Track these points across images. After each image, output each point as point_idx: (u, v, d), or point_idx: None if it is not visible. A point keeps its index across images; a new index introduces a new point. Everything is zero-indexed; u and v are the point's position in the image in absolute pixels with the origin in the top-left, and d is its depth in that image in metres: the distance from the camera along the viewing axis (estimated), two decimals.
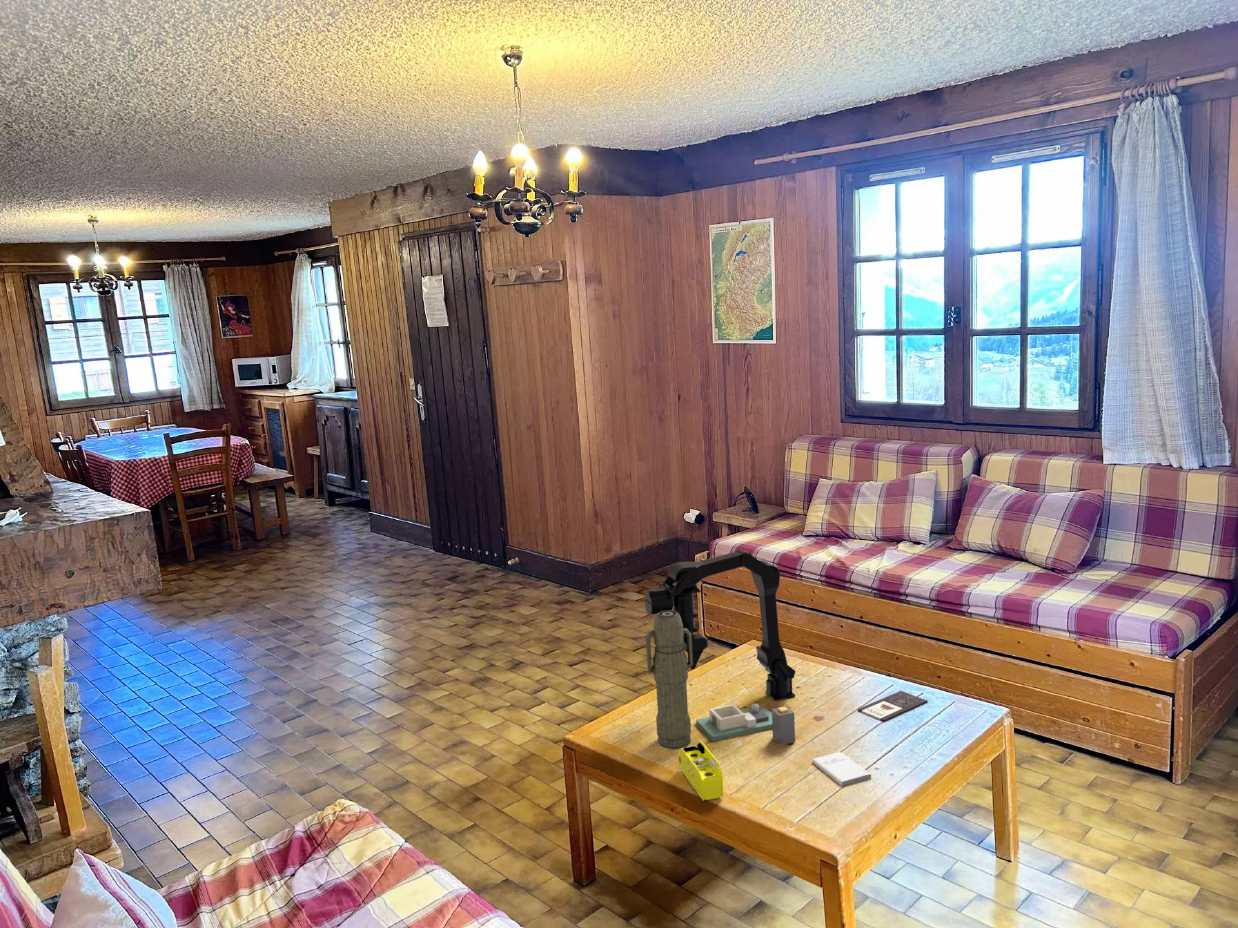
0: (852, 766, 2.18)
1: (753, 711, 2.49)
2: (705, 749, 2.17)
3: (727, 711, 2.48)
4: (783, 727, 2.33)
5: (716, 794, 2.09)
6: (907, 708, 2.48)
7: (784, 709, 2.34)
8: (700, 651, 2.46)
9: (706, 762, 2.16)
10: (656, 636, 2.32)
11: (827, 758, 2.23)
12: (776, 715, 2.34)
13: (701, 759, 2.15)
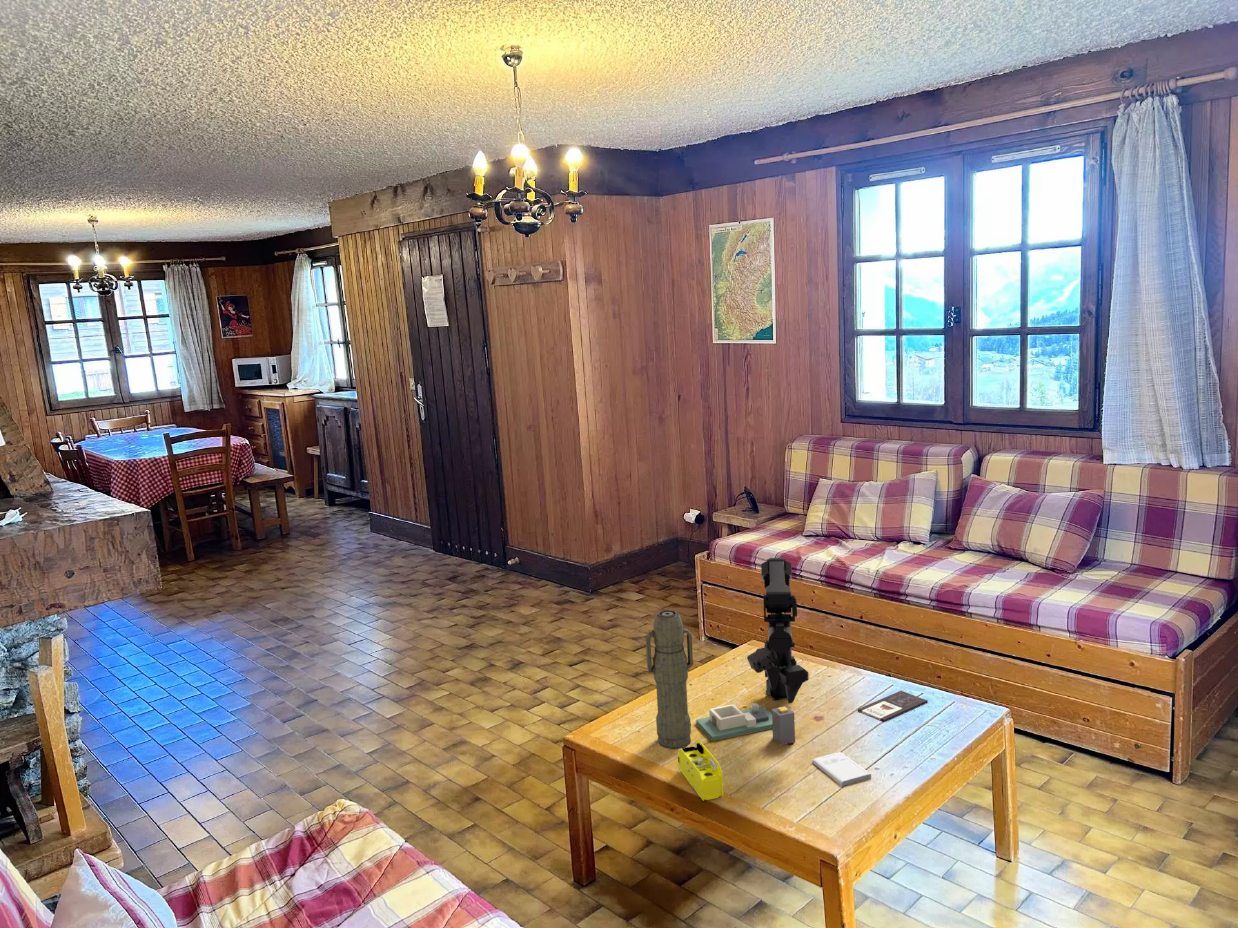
0: (853, 766, 2.18)
1: (753, 711, 2.49)
2: (704, 749, 2.17)
3: (727, 711, 2.48)
4: (783, 727, 2.33)
5: (716, 794, 2.09)
6: (907, 708, 2.48)
7: (784, 709, 2.34)
8: (799, 684, 2.28)
9: (705, 762, 2.17)
10: (656, 636, 2.32)
11: (827, 758, 2.23)
12: (776, 715, 2.34)
13: (700, 759, 2.15)
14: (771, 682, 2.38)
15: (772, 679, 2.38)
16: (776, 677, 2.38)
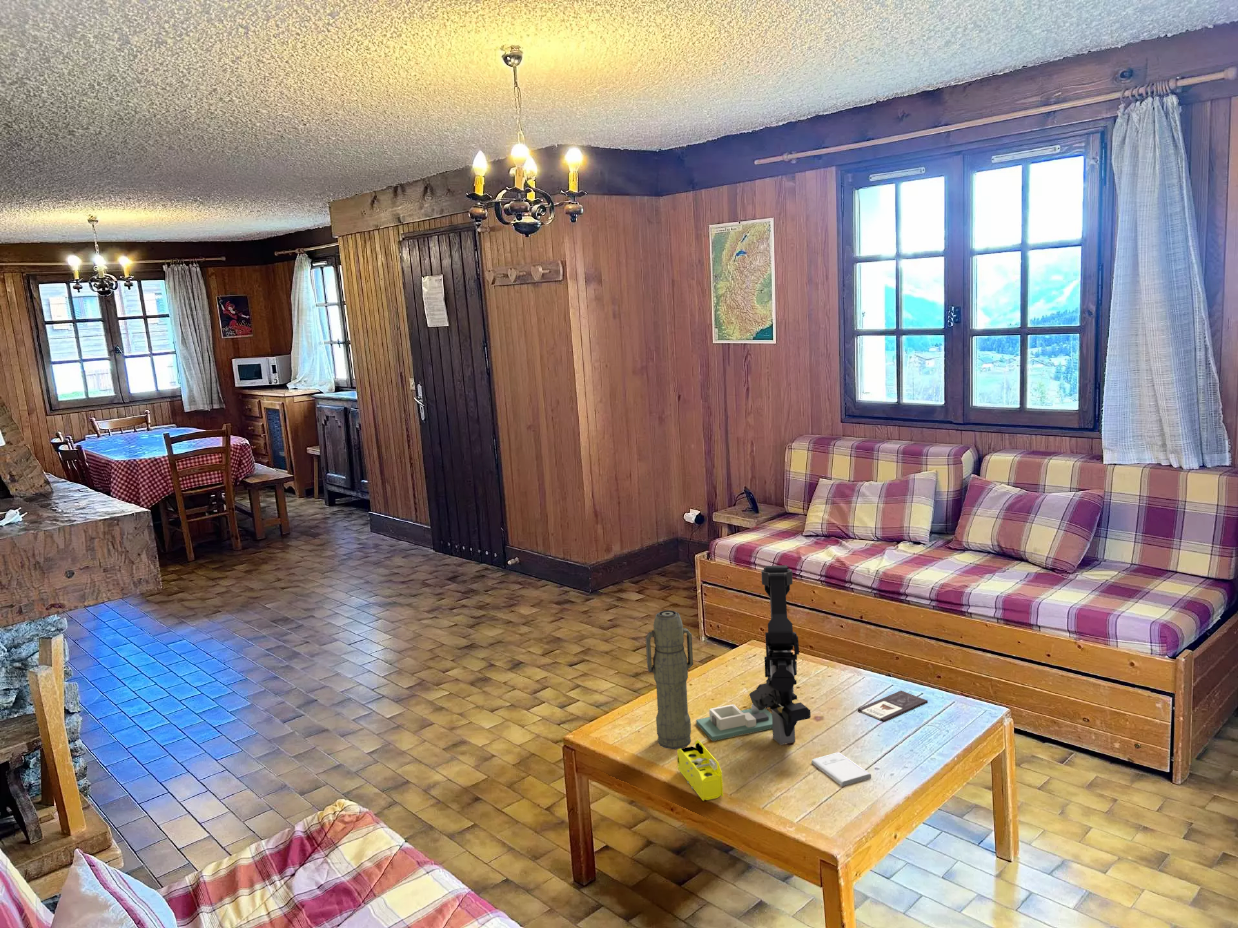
0: (852, 766, 2.18)
1: (753, 711, 2.49)
2: (704, 749, 2.17)
3: (727, 711, 2.48)
4: (783, 727, 2.33)
5: (716, 794, 2.09)
6: (907, 708, 2.48)
7: None
8: None
9: (705, 762, 2.17)
10: (656, 636, 2.32)
11: (826, 758, 2.23)
12: (776, 715, 2.34)
13: (700, 759, 2.15)
14: None
15: None
16: None
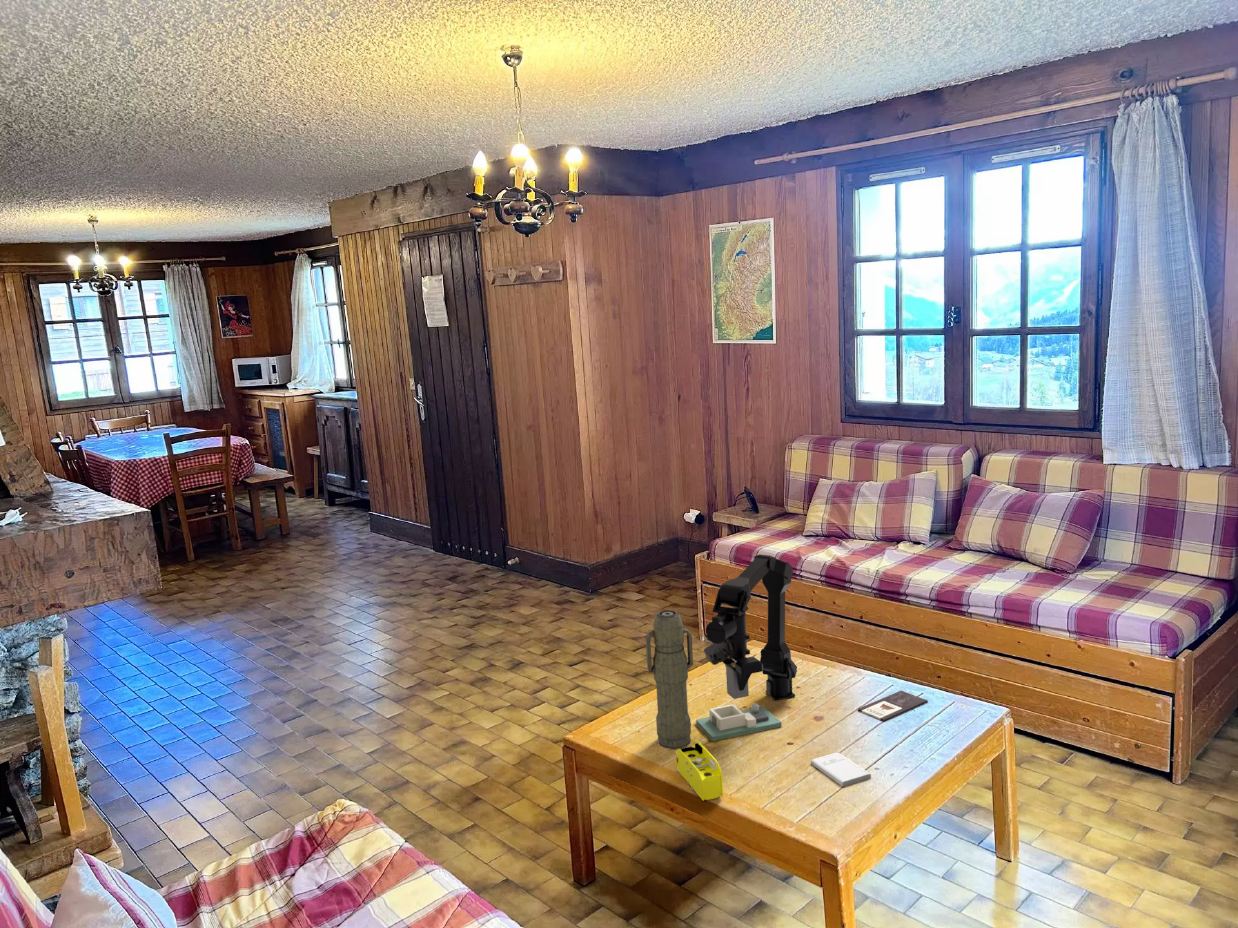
0: (852, 766, 2.18)
1: (753, 711, 2.49)
2: (703, 749, 2.17)
3: (727, 711, 2.48)
4: (736, 681, 2.38)
5: (716, 794, 2.09)
6: (907, 708, 2.48)
7: None
8: None
9: (704, 762, 2.17)
10: (656, 636, 2.32)
11: (825, 758, 2.23)
12: (730, 670, 2.39)
13: (700, 759, 2.15)
14: None
15: None
16: None
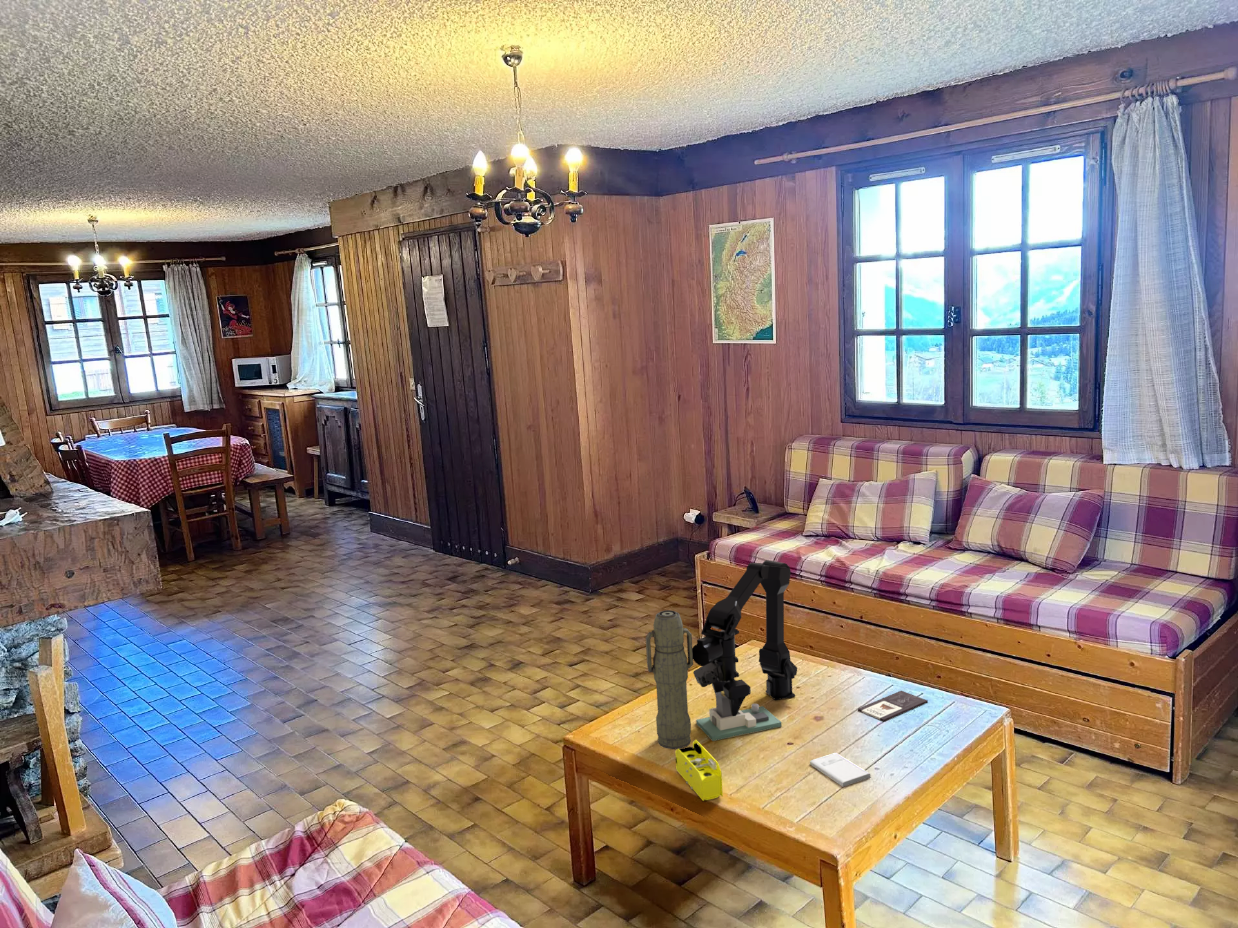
0: (851, 766, 2.18)
1: (753, 711, 2.49)
2: (702, 749, 2.17)
3: None
4: (725, 709, 2.42)
5: (715, 794, 2.09)
6: (907, 708, 2.48)
7: None
8: (742, 698, 2.38)
9: (703, 762, 2.17)
10: (656, 636, 2.32)
11: (824, 759, 2.23)
12: (719, 698, 2.43)
13: (699, 759, 2.15)
14: None
15: None
16: (722, 690, 2.49)
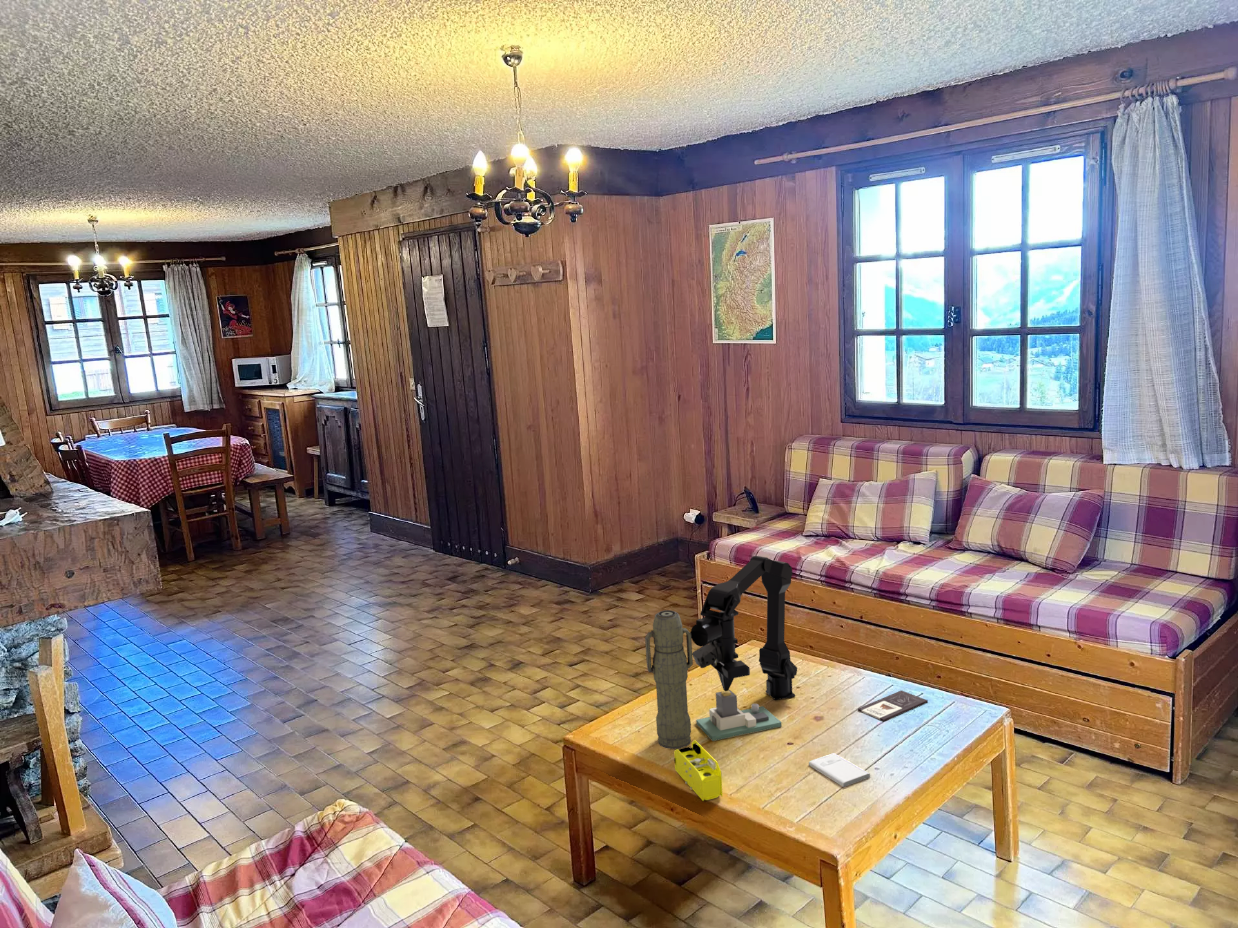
0: (850, 767, 2.18)
1: (753, 711, 2.49)
2: (702, 749, 2.17)
3: None
4: (725, 709, 2.42)
5: (715, 794, 2.09)
6: (907, 708, 2.48)
7: (727, 692, 2.43)
8: None
9: (703, 762, 2.17)
10: (655, 636, 2.32)
11: (823, 760, 2.22)
12: (719, 698, 2.43)
13: (698, 759, 2.15)
14: None
15: None
16: None
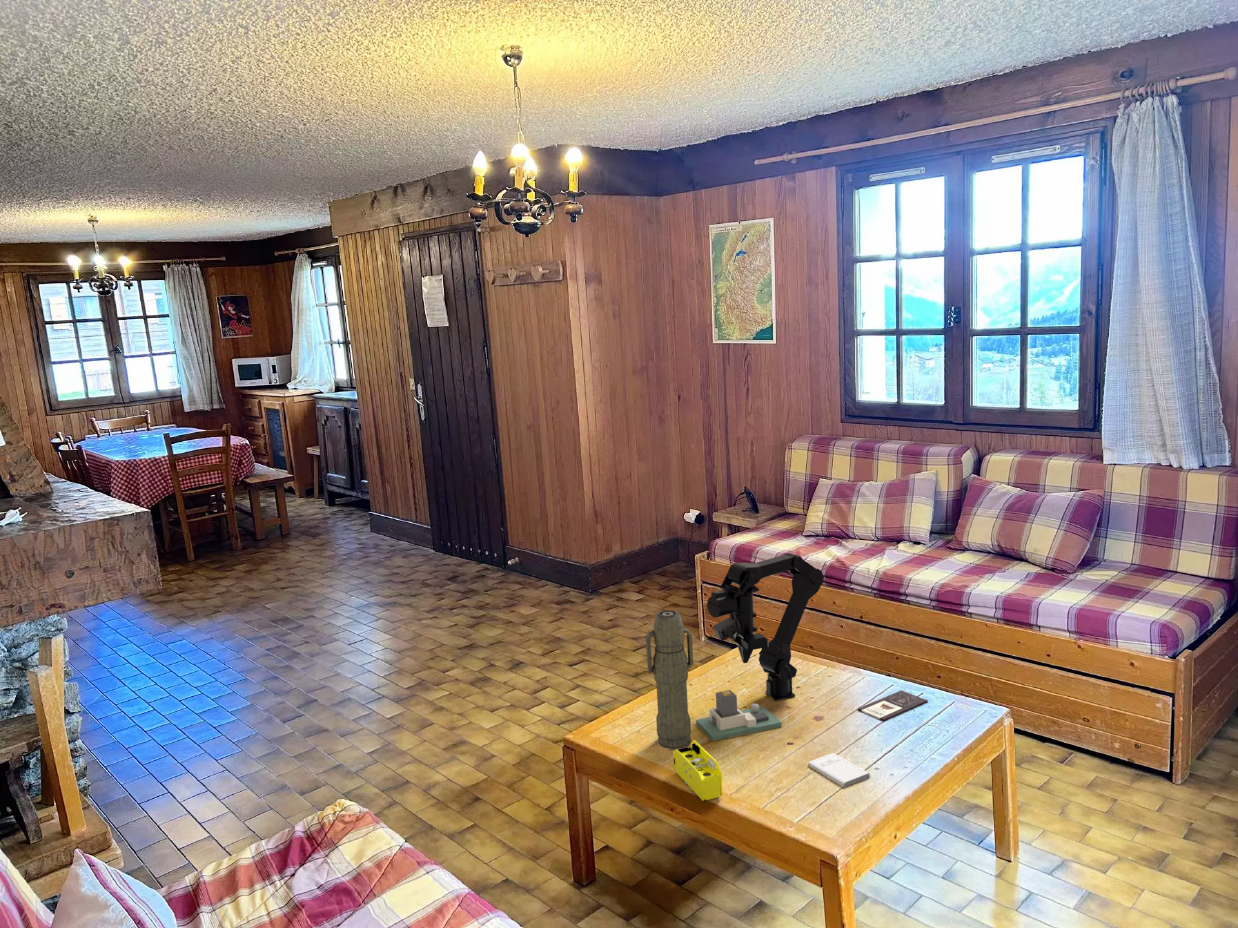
0: (850, 766, 2.18)
1: (753, 711, 2.49)
2: (701, 749, 2.17)
3: None
4: (725, 709, 2.42)
5: (715, 794, 2.09)
6: (907, 708, 2.48)
7: (727, 692, 2.43)
8: None
9: (702, 762, 2.17)
10: (656, 636, 2.32)
11: (822, 760, 2.22)
12: (719, 698, 2.43)
13: (698, 759, 2.15)
14: None
15: None
16: None
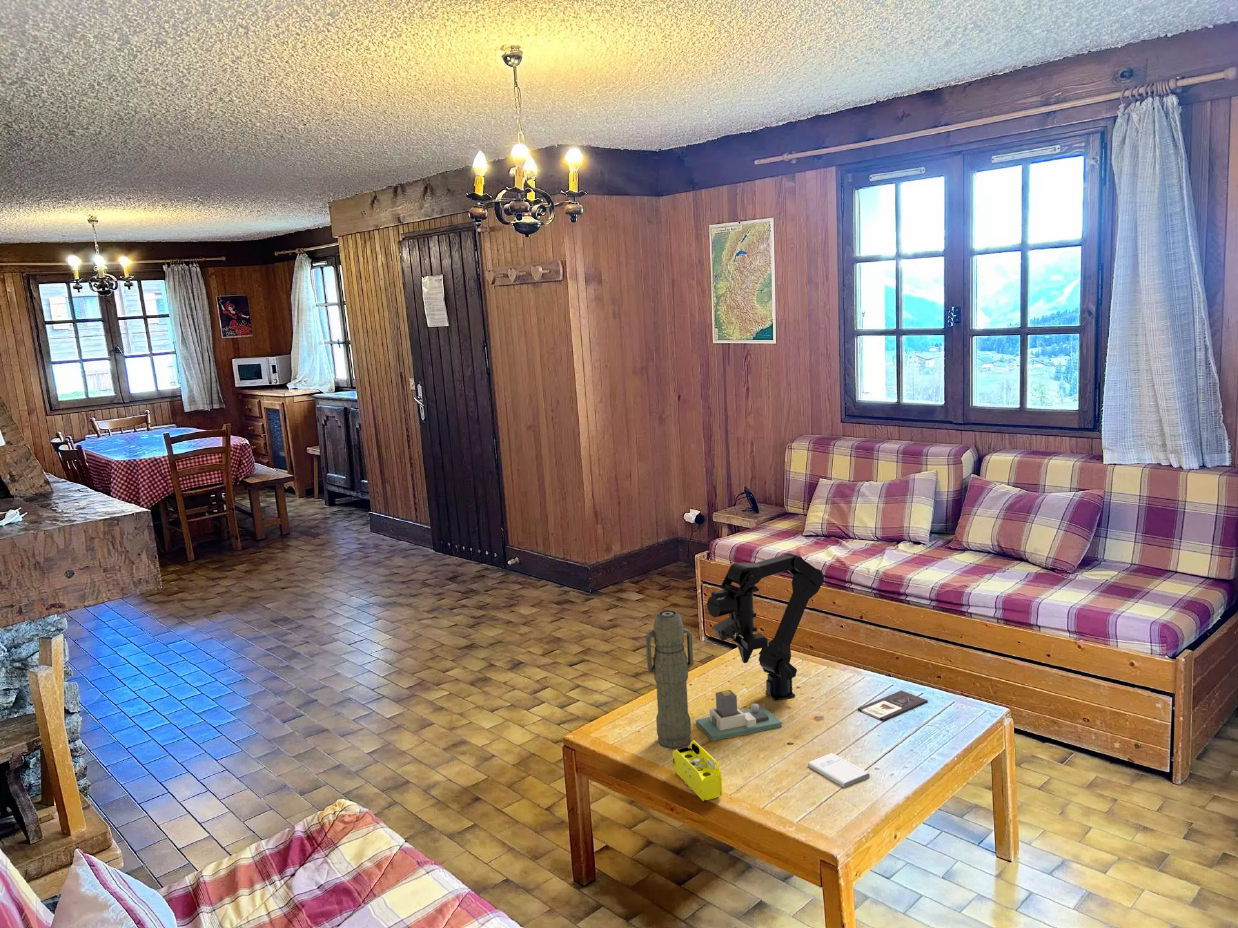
0: (850, 767, 2.18)
1: (753, 711, 2.49)
2: (701, 749, 2.18)
3: None
4: (725, 709, 2.42)
5: (715, 794, 2.09)
6: (907, 708, 2.48)
7: (727, 692, 2.43)
8: None
9: (702, 762, 2.17)
10: (656, 636, 2.32)
11: (822, 760, 2.22)
12: (719, 698, 2.43)
13: (698, 759, 2.15)
14: None
15: None
16: None
